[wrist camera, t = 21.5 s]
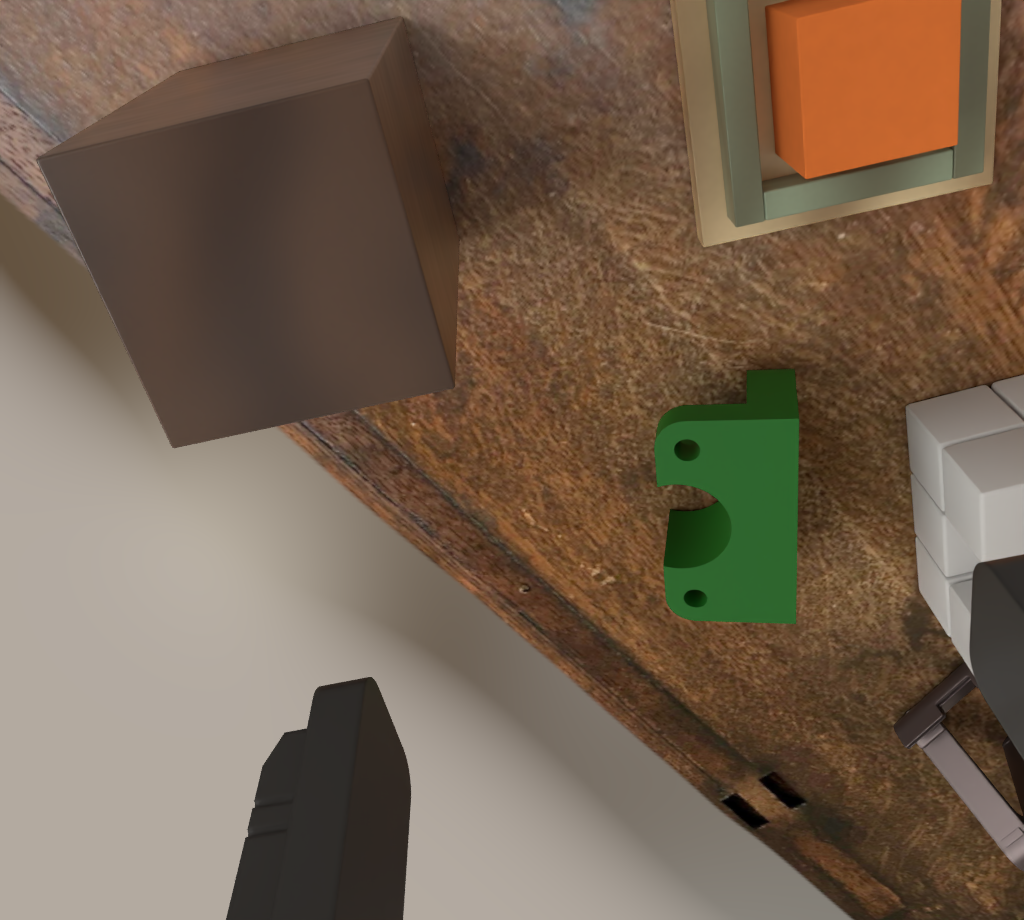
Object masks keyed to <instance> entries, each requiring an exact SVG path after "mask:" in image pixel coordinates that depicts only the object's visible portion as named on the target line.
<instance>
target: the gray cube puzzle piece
mask: <svg viewBox="0 0 1024 920" xmlns="http://www.w3.org/2000/svg"><path fill="white" fill-rule="evenodd" d="M906 420H907V434H908V447H909V461H910V469H911V471H912V472H913V474H912V475H911V487H912V501H913V514H914V527H915V533H916V535H917V537H916V539H915V541H916V554H917V568H918V581H919V591H920V592H921V594H922V596H923V597H924V599H925V600H926V602H927V603H928V605H929V606H930V608H931V610H932V611H933V613H934V614H935V616H936V617H937V619H938V621H939V622H940V624H941V625H942V627H943V628H944V630H945V631H946V633H947V635H948V636H950V637H952V642H953V644H954V645H955V647H956V649H957V650H958V652H959V653H960V655H961V656H962V658H963V659H964V661H965V663H966V664H967V666H968V667H969V669H970V670H971V672H972V674H973V675H974V673H973V670H972V666H971V661H970V653H969V642H970V621H971V600H972V579H973V571H974V568H975V566H976V565H977V564H978V563H980V562H986V561H991V560H996V559H1001V558H1007V557H1012V556H1017V555H1022V554H1024V375H1021V376H1017V377H1013V378H1009V379H1005V380H1001V381H998V382H994V383H993V384H992V386H991V389H990V388H989V387H988V386H986V385H982V386H978V387H974V388H971V389H967V390H963V391H959V392H955V393H951V394H947V395H943V396H940V397H936V398H932V399H928V400H924V401H920V402H916V403H913V404H909V405H907V406H906Z"/></svg>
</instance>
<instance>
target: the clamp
mask: <svg viewBox="0 0 1024 920" xmlns="http://www.w3.org/2000/svg"><path fill="white" fill-rule="evenodd" d="M654 450H655V463H656V476H657V487H660V486H664V485H672V484H680V485H688V486H692V487H696V488H699V489H701V490H704V491H706V492H708V493H709V494H711V495H712V496H714V497H715V498H716V499H717V500H718V502H716V503H715V504H713V505H711V506H709V507H707V508H704V509H701V510H697V511H676V510H671V509H670V514H669V523H668V531H667V540H666V548H665V557H664V579H665V592H666V601H667V604H668V606H669V607H670V609H671V610H672V611H673V612H674V613H675V614H677V615H678V616H680V617H682V618H685V619H688V620H694V621H722V622H755V623H789V624H796V586H797V522H798V458H799V412H798V401H797V390H796V378H795V369H769V370H747V404H713V405H683V406H678V407H675V408H673V409H671V410H669V411H668V412H667V413H665V414H664V415H663V417H662V418H661V419H660V421H659V423H658V427H657V433H656V439H655V446H654Z"/></svg>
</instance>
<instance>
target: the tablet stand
mask: <svg viewBox="0 0 1024 920" xmlns="http://www.w3.org/2000/svg"><path fill="white" fill-rule="evenodd" d="M975 687H977V688H979V687H978V685H977V682H976V679H975V677H974V675H973V674H972V672H971V670H970V669H969V667H968V666H967V664H966V663H965V662H964V663H963V664H961V665H960V666H959V667H958V668H957V669H956V670H955V671H954V672H952V673H951V674H950V675H949V676H948V677H947V678H946V679H945V680H943V681H942V682H941V683H940V684H939V685H938V686H937V687H936V688H934V689H933V690H932V691H931V692H930V693H929V694H928V695H927V696H925V697H924V698H923V699H922V700H921V701H920V702H919V703H918V704H917V705H915V706H914V707H913V708H912V709H910V710H908V711H907V712H906V713H905V715H904V716H903V717H902V718H901V719H900V720H899V721H897V722H896V723H895V724H894V730H895V732H896V734H897V735H898V737H899V739H900V740H901V742H902V744H903V745H904V747H906V748H908V749H910V748H911V747H912V746H913V745H915V744H916V743H917V744H918V746H919V747H920V748H922V749H923V751H924V752H925V753H926V754H927V756H928V757H929V758H930V759H931V761H932V762H933V763H934V765H935V766H936V767H937V768H938V770H939V771H940V772H941V773H942V775H943V776H944V777H945V779H946V780H947V781H948V782H949V784H950V785H951V786H952V787H953V789H954V790H955V791H956V793H957V794H958V795H959V796H960V798H961V799H962V800H963V801H964V803H965V804H966V805H967V807H968V808H969V809H970V810H971V812H972V813H973V814H974V816H975V817H976V818H977V819H978V821H979V822H980V823H981V824H982V826H983V827H984V828H985V829H986V831H987V832H988V833H989V835H990V836H991V837H992V838H993V840H994V841H995V842H996V843H997V845H998V846H999V847H1000V848H1001V850H1002V851H1003V852H1004V854H1005V855H1006V856H1007V857H1008V858H1009V860H1010V861H1011V862H1012V863H1013V864H1014V865H1016V866H1017V867H1018V868H1019V869H1021V870H1023V871H1024V760H1023V758H1022V757H1021V755H1020V754H1019V752H1018V750H1017V749H1016V747H1015V746H1014V744H1013V743H1012V741H1011V739H1010V738H1009V737H1007V738H1006V739H1005V741H1004V742H1003V745H1002V746H1003V748H1004V752H1005V756H1006V759H1007V762H1008V766H1009V769H1010V772H1011V776H1012V779H1013V782H1014V786H1015V789H1016V793H1017V796H1018V799H1019V803H1020V806H1021V809H1022V812H1023V816H1021V815H1019V814H1018V813H1017V812H1016V811H1015V810H1014V809H1013V808H1012V807H1011V806H1010V805H1009V803H1008V802H1007V801H1006V800H1005V799H1004V797H1003V796H1002V795H1001V794H1000V792H999V791H998V790H997V789H996V788H995V786H994V785H993V784H992V783H991V781H990V780H989V779H988V778H987V777H986V775H985V774H984V773H983V772H982V770H981V769H980V768H979V767H978V766H977V764H976V763H975V762H974V761H973V759H972V758H971V757H970V756H969V755H968V753H967V752H966V751H965V750H964V749H963V747H962V746H961V745H960V744H959V742H958V741H957V740H956V739H955V738H954V736H953V735H952V734H951V733H950V731H949V730H948V729H947V728H946V727H945V725H944V724H943V723H942V722H941V721H942V720H943V719H945V718H946V712H947V711H948V710H950V709H951V708H952V707H953V706H954V705H955V704H956V703H958V702H959V701H960V700H961V699H962V698H963V697H964V696H966V695H967V694H968V693H969V692H970V691H971V690H973V689H974V688H975Z"/></svg>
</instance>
